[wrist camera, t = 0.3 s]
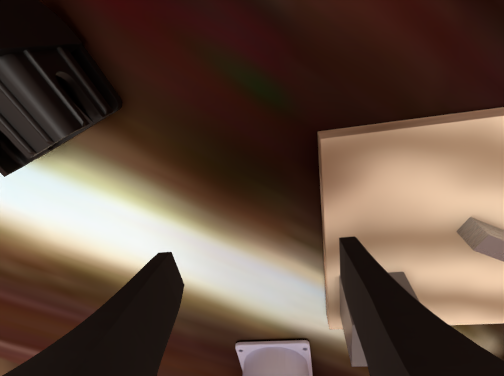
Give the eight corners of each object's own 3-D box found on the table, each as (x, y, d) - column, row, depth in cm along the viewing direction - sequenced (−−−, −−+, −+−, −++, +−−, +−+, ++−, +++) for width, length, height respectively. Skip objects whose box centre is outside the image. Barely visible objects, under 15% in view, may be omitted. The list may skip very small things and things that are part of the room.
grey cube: (398, 312, 25) (422, 368, 21) (340, 315, 26) (352, 369, 22) (403, 271, 23) (431, 324, 19) (339, 275, 23) (353, 327, 19)
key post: (508, 231, 20) (530, 250, 18) (492, 245, 21) (512, 265, 19) (470, 216, 20) (489, 234, 18) (456, 231, 20) (473, 250, 19)
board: (493, 308, 26) (505, 323, 25) (326, 315, 28) (329, 329, 27) (570, 98, 17) (595, 104, 16) (317, 131, 19) (320, 139, 18)
